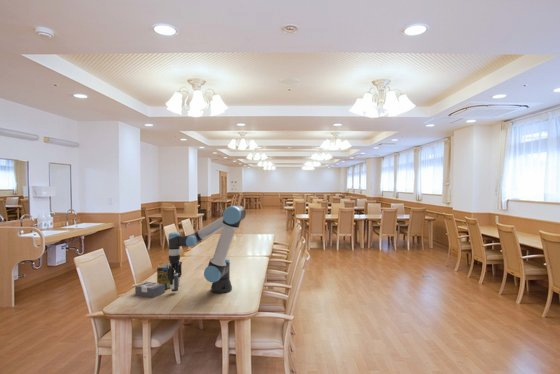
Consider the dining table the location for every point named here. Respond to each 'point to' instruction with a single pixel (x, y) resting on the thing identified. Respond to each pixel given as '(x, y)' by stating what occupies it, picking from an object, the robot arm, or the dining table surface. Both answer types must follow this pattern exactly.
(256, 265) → the dining table surface
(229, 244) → the robot arm
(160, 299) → the dining table surface
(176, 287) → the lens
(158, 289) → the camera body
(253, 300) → the dining table surface
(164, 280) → the protein box
